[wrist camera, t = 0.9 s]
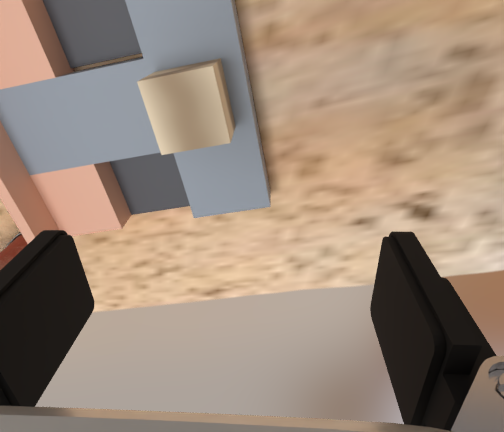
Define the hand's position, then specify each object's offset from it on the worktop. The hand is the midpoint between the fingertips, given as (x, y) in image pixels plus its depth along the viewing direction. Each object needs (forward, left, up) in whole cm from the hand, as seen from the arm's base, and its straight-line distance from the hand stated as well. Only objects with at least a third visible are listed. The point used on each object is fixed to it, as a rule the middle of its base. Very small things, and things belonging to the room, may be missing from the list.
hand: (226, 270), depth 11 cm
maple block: (+4, -2, -19) cm, 20 cm away
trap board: (+10, -2, -22) cm, 24 cm away
